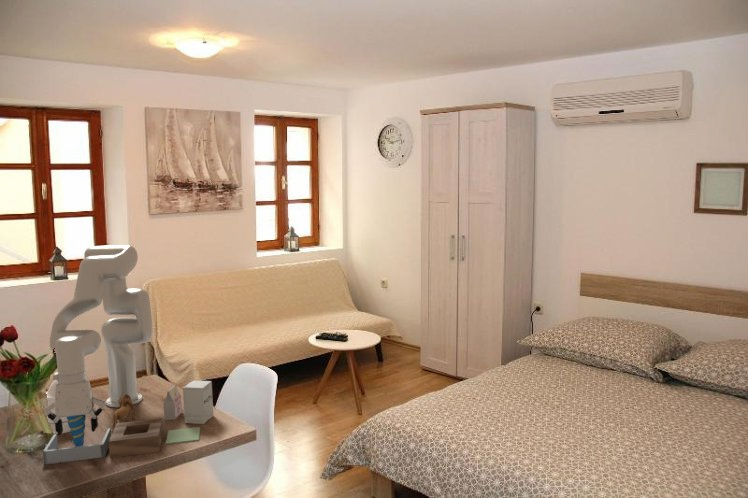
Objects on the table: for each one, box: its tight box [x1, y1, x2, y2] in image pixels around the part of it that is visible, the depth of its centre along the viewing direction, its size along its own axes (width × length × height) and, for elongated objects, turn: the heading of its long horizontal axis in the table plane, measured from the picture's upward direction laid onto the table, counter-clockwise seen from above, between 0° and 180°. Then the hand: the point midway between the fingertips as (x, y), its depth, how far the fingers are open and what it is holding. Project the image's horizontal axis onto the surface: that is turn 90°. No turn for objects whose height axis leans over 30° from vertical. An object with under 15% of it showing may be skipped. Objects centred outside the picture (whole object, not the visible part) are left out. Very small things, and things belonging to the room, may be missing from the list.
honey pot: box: [45, 371, 71, 435], centre depth 211 cm, size 13×13×18 cm
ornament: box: [67, 415, 87, 447], centre depth 191 cm, size 5×5×15 cm
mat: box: [165, 426, 201, 445], centre depth 201 cm, size 10×10×1 cm
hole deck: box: [108, 417, 165, 458], centre depth 195 cm, size 14×14×5 cm
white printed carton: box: [163, 384, 183, 421], centre depth 217 cm, size 4×7×10 cm, turn 177°
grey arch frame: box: [42, 427, 112, 465], centre depth 192 cm, size 12×17×4 cm
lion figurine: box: [111, 394, 134, 433], centre depth 211 cm, size 15×5×9 cm, turn 11°
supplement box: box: [182, 380, 214, 425], centre depth 213 cm, size 7×7×13 cm
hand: (77, 431), depth 191 cm, fingers open, 9 cm apart
